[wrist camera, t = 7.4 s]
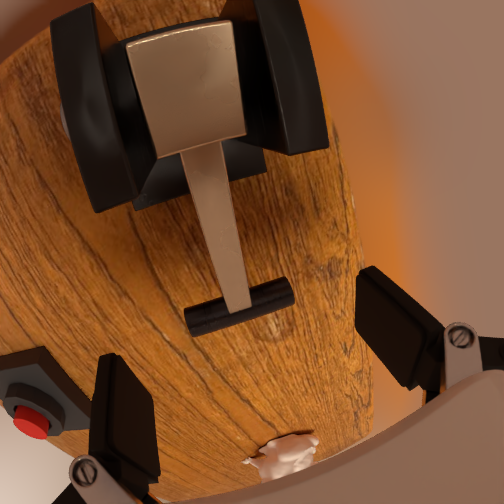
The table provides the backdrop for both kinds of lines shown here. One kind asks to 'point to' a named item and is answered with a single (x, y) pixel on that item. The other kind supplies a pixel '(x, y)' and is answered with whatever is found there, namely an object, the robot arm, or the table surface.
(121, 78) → the switch bracket
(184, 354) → the table surface
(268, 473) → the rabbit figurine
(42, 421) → the button
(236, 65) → the lever
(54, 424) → the control block
